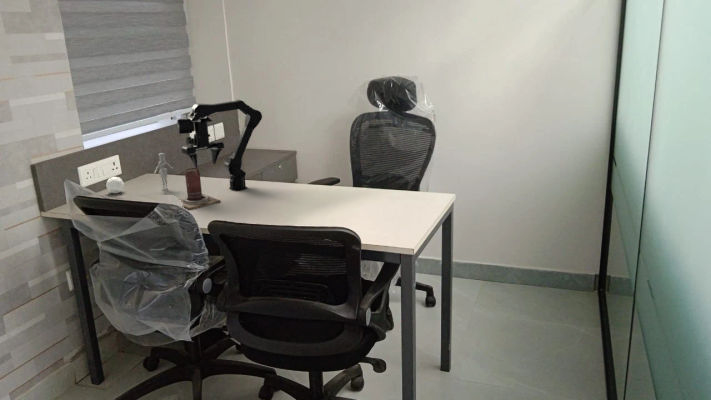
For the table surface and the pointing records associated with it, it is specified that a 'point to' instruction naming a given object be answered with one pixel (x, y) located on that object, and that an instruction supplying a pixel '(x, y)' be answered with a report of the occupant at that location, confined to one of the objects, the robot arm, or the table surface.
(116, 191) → the geometric ball
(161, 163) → the human figurine
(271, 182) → the table surface
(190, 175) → the can
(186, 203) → the cup holder
